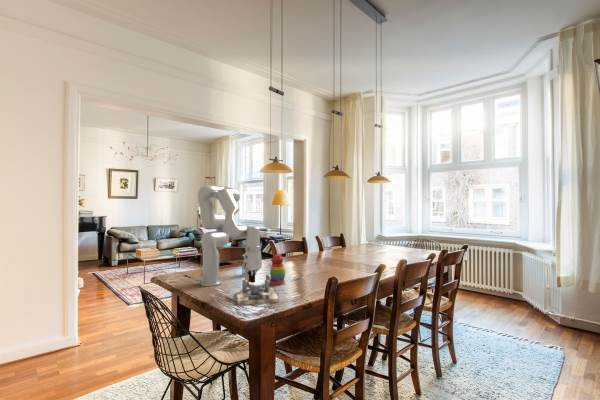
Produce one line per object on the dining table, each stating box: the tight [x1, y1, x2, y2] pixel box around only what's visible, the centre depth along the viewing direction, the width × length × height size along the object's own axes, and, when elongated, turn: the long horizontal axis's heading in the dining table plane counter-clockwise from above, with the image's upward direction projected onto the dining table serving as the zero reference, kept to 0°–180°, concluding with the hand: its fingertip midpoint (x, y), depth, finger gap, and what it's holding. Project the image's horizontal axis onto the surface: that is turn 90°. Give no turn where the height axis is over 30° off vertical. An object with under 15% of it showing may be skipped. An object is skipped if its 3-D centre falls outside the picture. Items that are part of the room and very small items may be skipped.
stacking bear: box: [269, 253, 286, 286], centre depth 199 cm, size 11×10×18 cm
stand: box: [235, 287, 280, 306], centre depth 167 cm, size 20×21×4 cm
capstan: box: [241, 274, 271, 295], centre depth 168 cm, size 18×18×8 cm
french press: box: [240, 253, 248, 278], centre depth 218 cm, size 10×12×25 cm
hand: (251, 282), depth 176 cm, fingers closed
